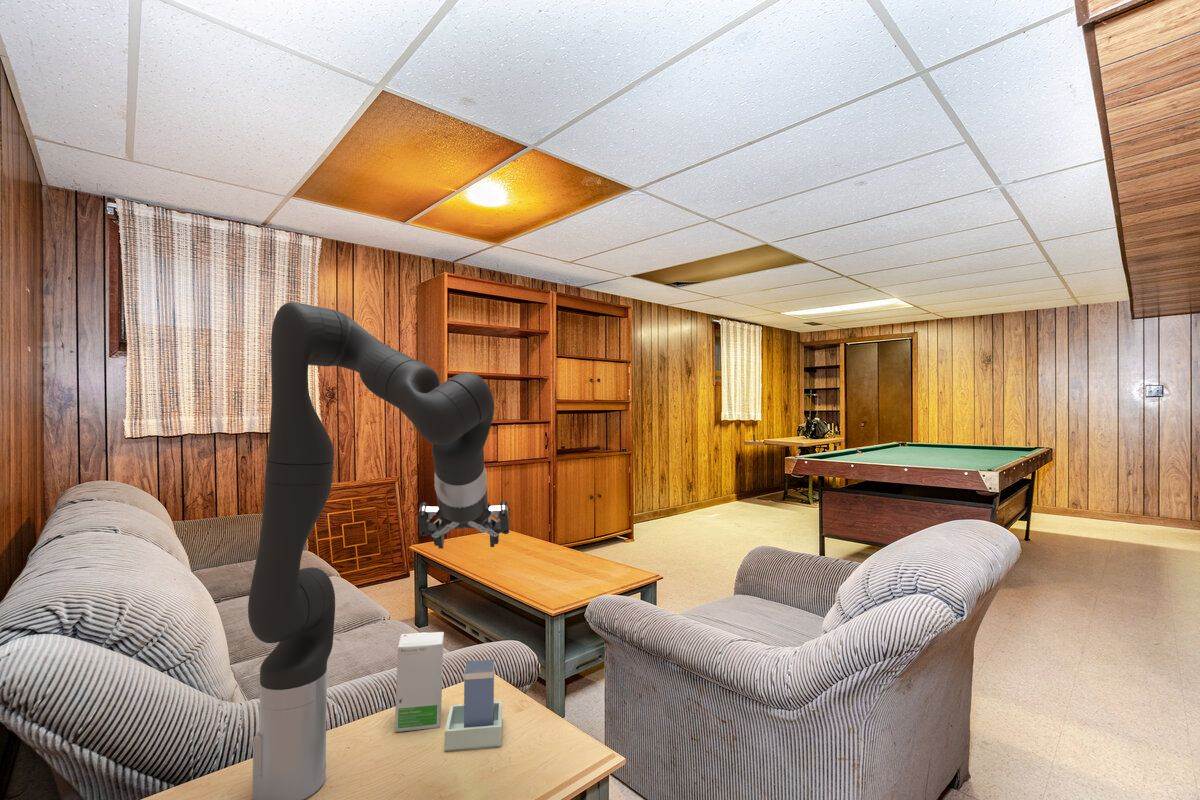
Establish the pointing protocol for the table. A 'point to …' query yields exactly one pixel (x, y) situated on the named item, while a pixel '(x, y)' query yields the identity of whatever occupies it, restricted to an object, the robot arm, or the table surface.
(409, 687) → the skincare box
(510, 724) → the table surface
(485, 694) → the tea box
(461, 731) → the tray
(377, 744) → the table surface
